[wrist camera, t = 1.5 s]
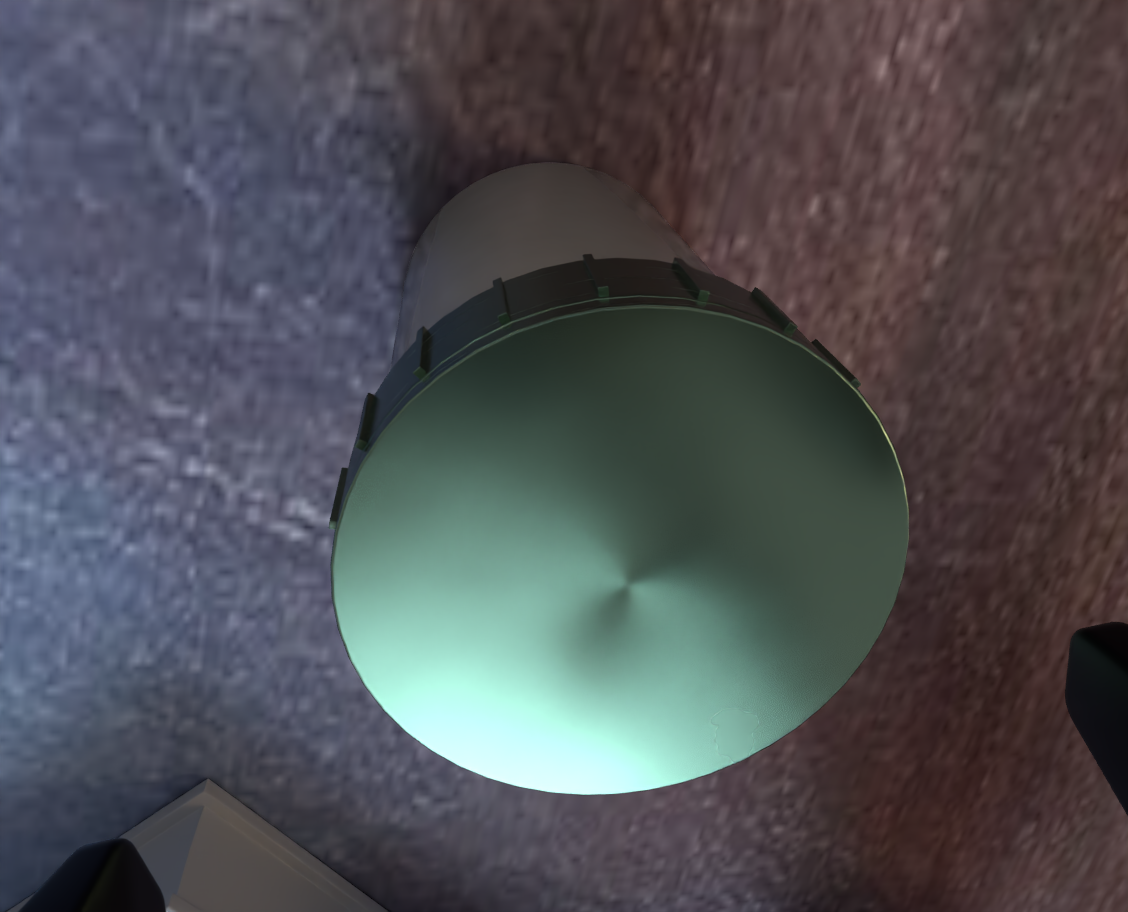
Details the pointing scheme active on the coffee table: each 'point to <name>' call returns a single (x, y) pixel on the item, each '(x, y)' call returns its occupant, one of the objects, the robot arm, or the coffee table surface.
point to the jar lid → (614, 529)
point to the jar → (527, 236)
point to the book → (234, 861)
